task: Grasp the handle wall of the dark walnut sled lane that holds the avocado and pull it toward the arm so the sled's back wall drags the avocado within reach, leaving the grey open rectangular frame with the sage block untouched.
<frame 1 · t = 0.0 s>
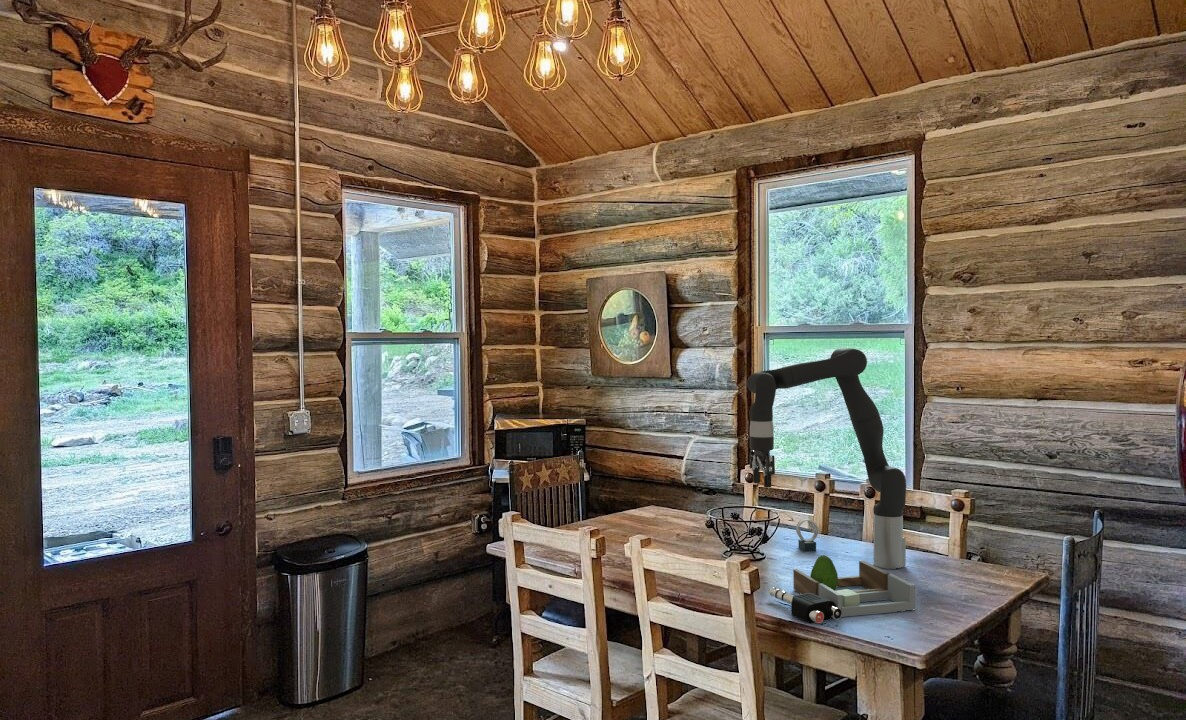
hand: (762, 485, 261), 29 cm above the table, fingers open, 8 cm apart
avocado: (824, 595, 241), resting in walnut sled
walnut sled: (840, 581, 242), point 4 cm above the table, slide at 0.0 cm
grey open rectangular frame: (866, 594, 229), point 4 cm above the table, slide at 0.4 cm
audio adapter: (797, 612, 227), on the table
sage block: (846, 610, 228), resting in grey open rectangular frame
silver ring on block: (807, 550, 293), on the table
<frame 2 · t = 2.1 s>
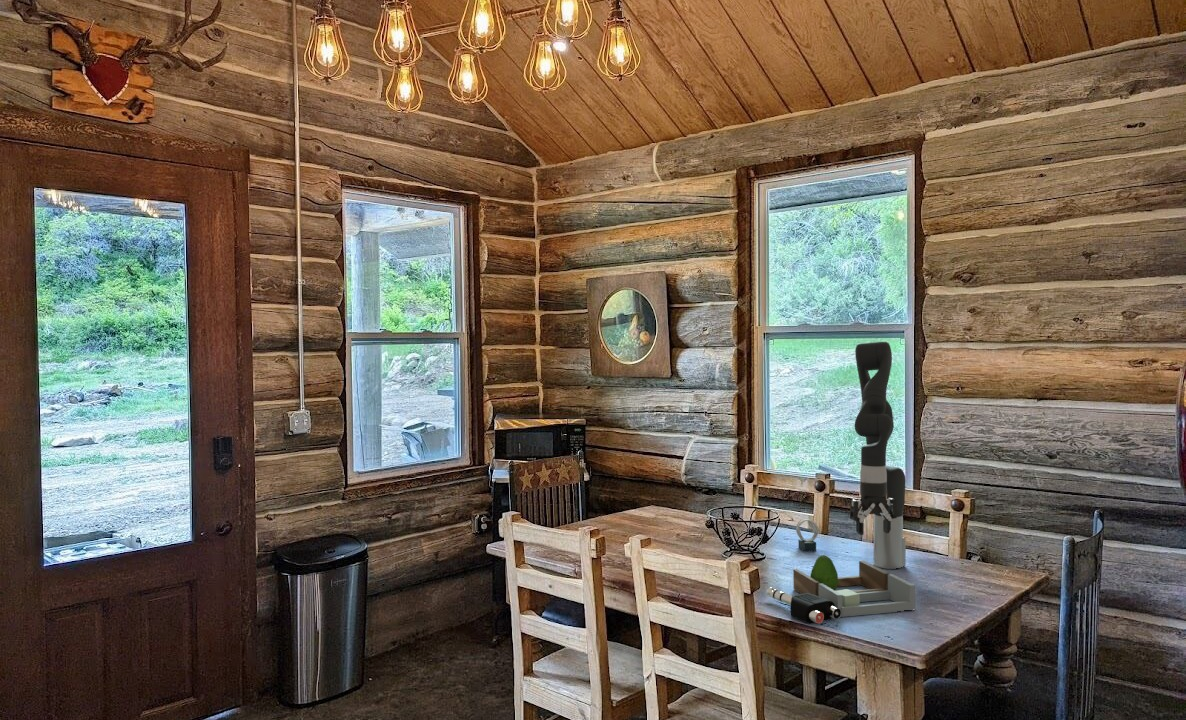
hand: (873, 533, 244), 17 cm above the table, fingers open, 8 cm apart
nothing on the table moved.
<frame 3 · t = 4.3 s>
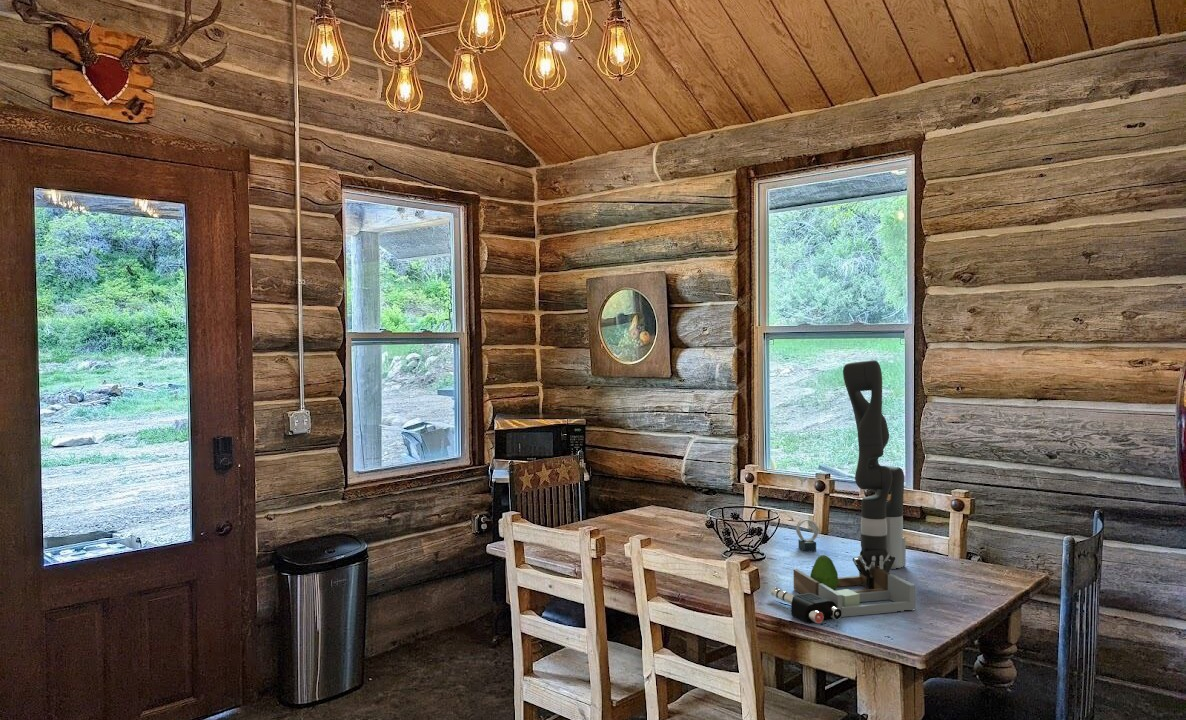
hand: (874, 588, 244), 1 cm above the table, fingers closed on walnut sled
walnut sled: (840, 581, 242), point 4 cm above the table, slide at 0.0 cm, touching gripper
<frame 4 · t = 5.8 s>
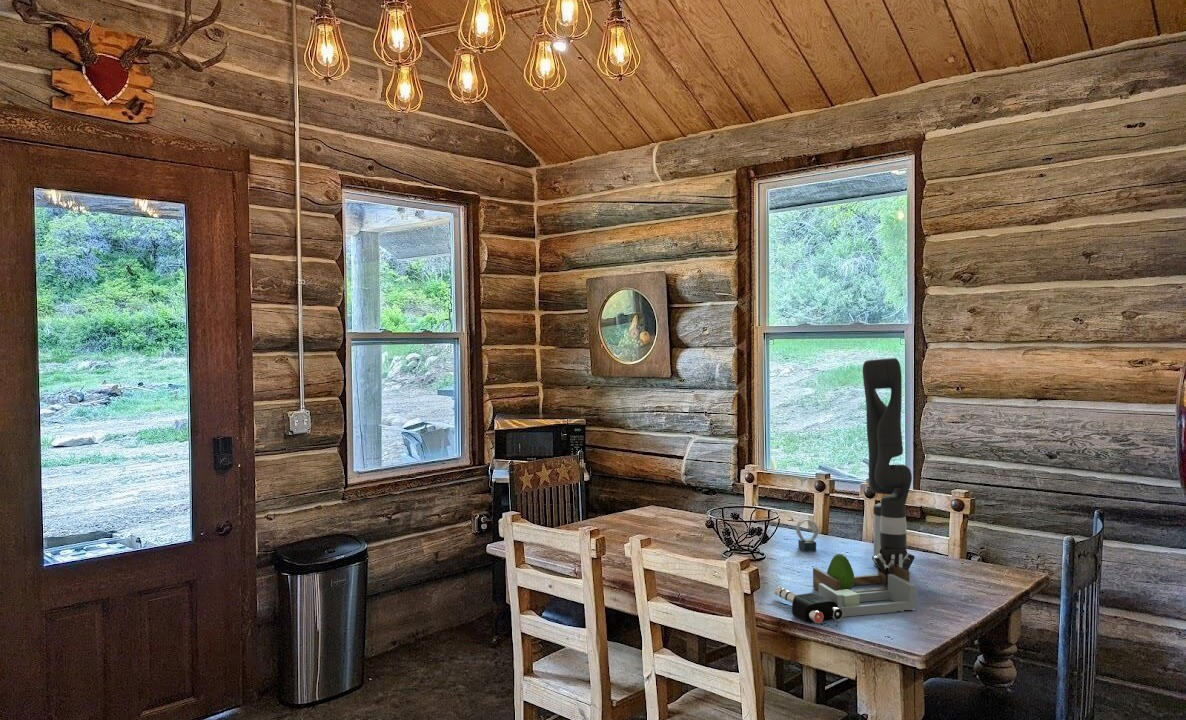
hand: (893, 587, 246), 1 cm above the table, fingers closed on walnut sled
avocado: (840, 594, 242), resting in walnut sled
walnut sled: (860, 579, 243), point 4 cm above the table, slide at 6.5 cm, touching gripper
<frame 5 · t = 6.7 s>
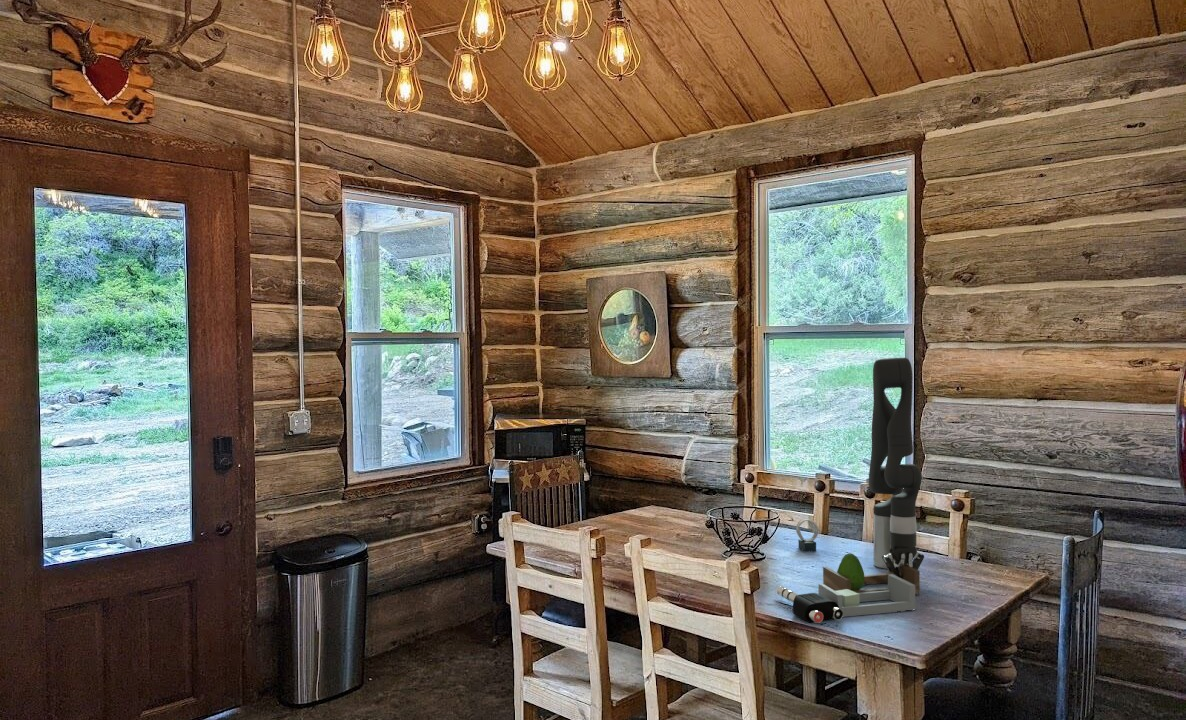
hand: (903, 586, 247), 1 cm above the table, fingers closed on walnut sled
avocado: (850, 593, 243), resting in walnut sled
walnut sled: (870, 578, 244), point 4 cm above the table, slide at 9.8 cm, touching avocado, gripper
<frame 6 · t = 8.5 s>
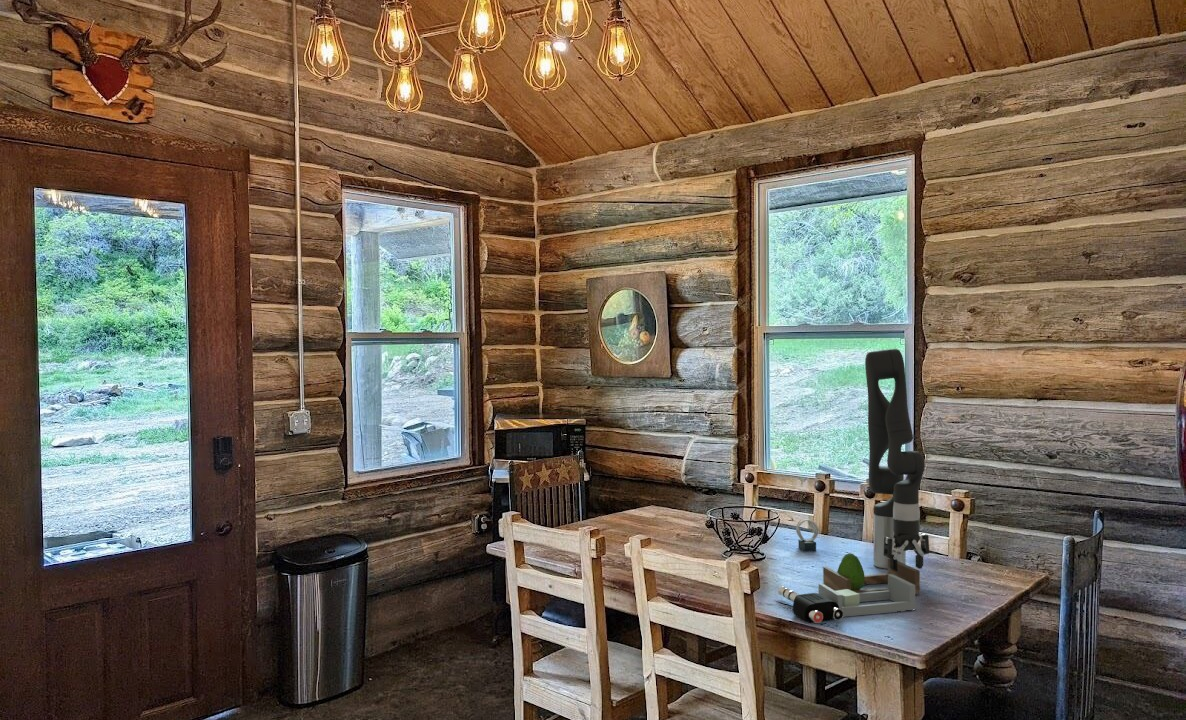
hand: (906, 569, 247), 6 cm above the table, fingers open, 8 cm apart
walnut sled: (870, 578, 244), point 4 cm above the table, slide at 9.9 cm, touching avocado
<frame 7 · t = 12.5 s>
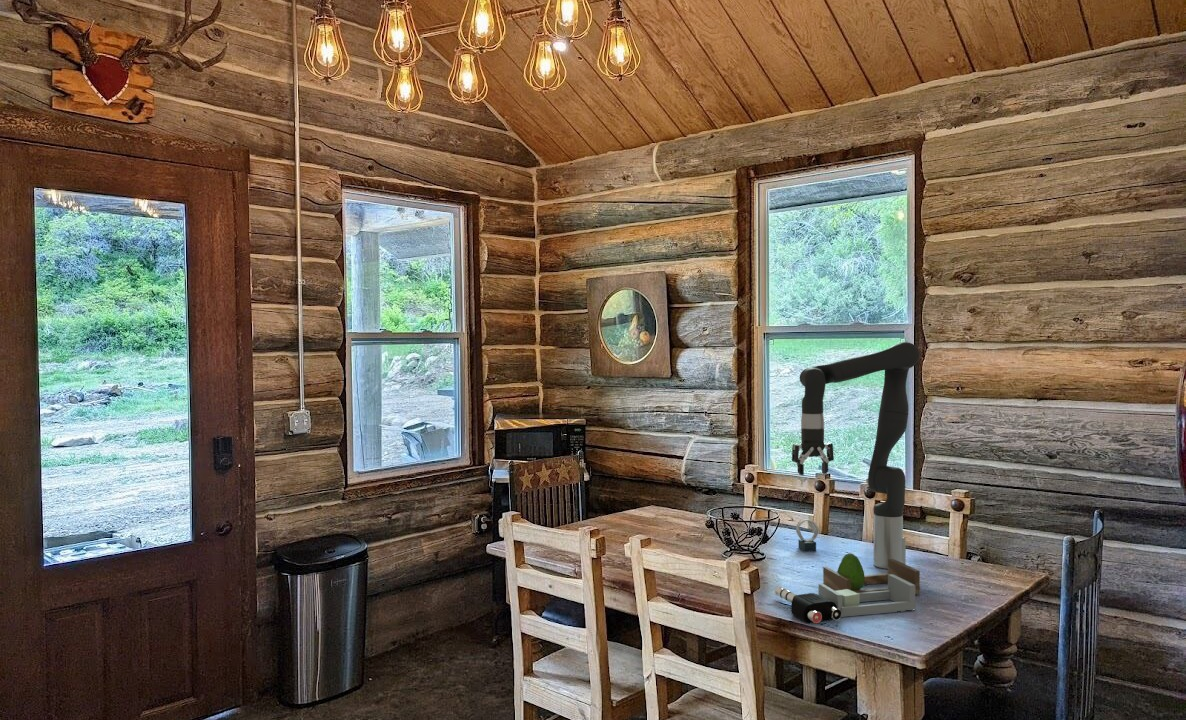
hand: (812, 474, 275), 30 cm above the table, fingers open, 8 cm apart
at the end: walnut sled slide at 9.9 cm; avocado inside the target area (2.5 cm from its centre), resting in walnut sled; sage block moved 0.1 cm from its start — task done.
